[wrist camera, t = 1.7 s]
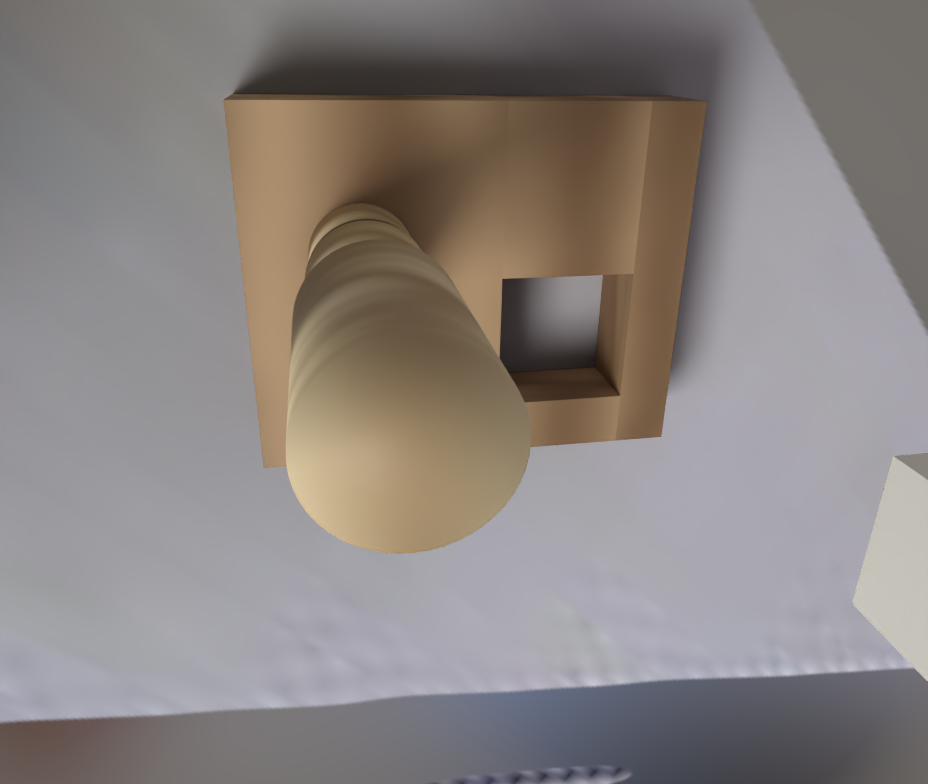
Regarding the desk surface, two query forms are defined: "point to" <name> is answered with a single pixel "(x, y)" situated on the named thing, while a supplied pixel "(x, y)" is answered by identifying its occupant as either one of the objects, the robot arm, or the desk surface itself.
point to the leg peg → (395, 394)
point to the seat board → (482, 226)
